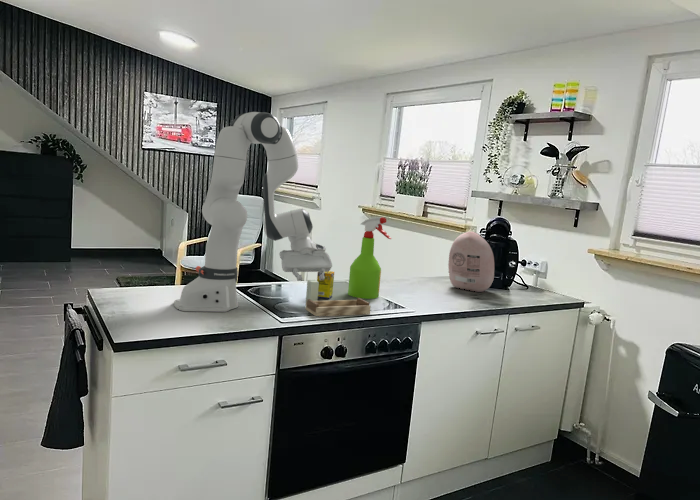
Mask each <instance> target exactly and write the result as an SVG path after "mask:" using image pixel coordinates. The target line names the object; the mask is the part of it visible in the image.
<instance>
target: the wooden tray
mask: <svg viewBox="0 0 700 500" xmlns="http://www.w3.org/2000/svg"><path fill="white" fill-rule="evenodd" d="M305 304H306V306H305V310H306V311H307V312H308V313H310V314H312V315H314V316H315V317H316V316H319V317H334V316H335V317H337V316H341V317H342V316H357V315H358V316H360V315H363V316H364V315H370V314H371V305H370V302H369V301H367V300H365V299H363V298H356V299H339V300H338V299H335V300H332V299H331V300H330V299H328V300H317V301H312V300H311V299H307V301H306V300H305Z"/></svg>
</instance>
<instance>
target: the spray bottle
mask: <svg viewBox="0 0 700 500" xmlns="http://www.w3.org/2000/svg"><path fill="white" fill-rule="evenodd" d="M386 223H387V218H386V217H383V216H382V217H370V218H367V219H365V220H363V221H362V222H361V223H360V225H362V226H364V233H363V237H362V240H361V247H360V254H359V255H358V256H356V258H355V259H354V260H353V262H352V264H351V265H350V267H349V278H348V290H347V295H348V296H350V297H352V298H356V299H357V298H361V299H363V300H365V299H366V300H372V299H373V300H375V299H378V298H379V297H380V295H379V294H380V287H381V286H380V285H381V275H382V268H381V266H380V264H379V262H378V260H377V259H376V257H375V255H374V254H375V253H374V250H375V236H374V235H375V234H374V231H375V230H377V231H378V232H379V233H381V235H383V236H384V237H385V238H386V239H387V240H392V239H393V238H392V237H390V235H389V234H387V232H386V230H385V231H384V229H383V225H382V224H386Z"/></svg>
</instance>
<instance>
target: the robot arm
mask: <svg viewBox="0 0 700 500" xmlns="http://www.w3.org/2000/svg"><path fill="white" fill-rule="evenodd" d="M231 123H232V124H231V125H230V126H228V125H227V126H225V127H223V128H222V129H220V131H219V134H218V137H217V140H216V143H215V148H214V156H213V162H212V171H211V179H210V182H209V187H208V190H207V193H206V196H205V201H204V202H203V205H202V207H201V208H202V209H201V213H202V216H203V218H204V220H205V221H206V222H207V223H208V224H209V225H210V226H211V229H210V233H209V237H208V240H207V242H206V244H205V258H204V266H200V265H197V266H196V267H195V271H196V272H197V273H198V277H196V278H194V280H192V281H190V282H189V283H187V284H186V285H184V286H183V288H182V289H181V294H180V298H177V299H175V300H174V301H173V307H174V308H175V309H176V310H178V309H179V311H182V312H219V313H221V312H223V313H224V312H225V313H226V312H229V311H231V310H233V309H236V308H238V307H239V302H238V294H237V293H238V292H237V282H238V272H239V271H238V267H237V263H238V249H239V244H240V239H241V235H242V232H243V227H244V226H245V224H246V223H247V221H248V211H247V209H246V208H245V207H244V205H243V204H242V203H241V202H239V201H238V200H237V199H238V196H239V193H240V191H241V187H242V186H243V185H244V183H245V182H244V180H245V174H246V166H247V165H246V164H247V158H248V157H247V156H248V150H249V147H250V146H251V145H252V144H255V145H257V144H258V145H259V144H261V145H262V146H263V148H264V149H265V151H266V152H265V153H266V157H267V162H268V164H267V165H268V166H267V171H266V173H265V174H263V178H262V197H263V213H264V215H263V216H264V219H263V230H264V234H265V236H266V237H267V238H268V239H270V240H272V241H279V240H283V239H285V238H288V241H289V242H290V250H285V249H283V250H281V251H280V252H279V258H280V259H281V268H282V269H281V270H282V271H284V272H285V273H292V276H294V277H295V278H296V281H298V282H299V281H300V282H301V281H302V280H303V276H302V274H300V272H301V273H318V272H320V274H321V273H322V274H321V275H320V276H319V279H320V280H324V279H325V277H324V273H325V272H329V271H331V269H332V267H333V263H332V260H331V257H330V255H329V253H328V252H326V250H327V247H326V246H324V245H322V244H320V243H319V244H318V243H315V242H314V241H313V240H312V239H311V238H310V237H311V232H312V231H313V227H314V226H313V223H312V220H311V216H310V213H309V211H307V210H306V209H304V208H297V209H293V210H290V211H284V212H280V213H279V212H278V213H276V211H275V198H274V197H275V192H276V190H277V189H278V188H279V187H281V186H282V185H284V184H285V183H287V182H288V181H290V180H291V179H292V178H293V177H294V176H295V175H296V173H297V172H298V169H299V159H298V153H297V151H296V146H295V143H294V140H293V138H292V137H293V136H292V135H291V132H290V131H289V130H288V129H287V128H286V127H284V126H282V125H281V123H280V121H279V120H278V118H277V117H276V116H275V115H273V114H272V113H269V112H266V111H263V112H260V111H259V112H258V111H251V112H244V113H241V114H238V115H237V116H236V117H235V118H234V120H233V122H231Z"/></svg>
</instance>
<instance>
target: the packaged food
mask: <svg viewBox="0 0 700 500" xmlns="http://www.w3.org/2000/svg"><path fill="white" fill-rule="evenodd" d="M495 264H496V262H495V255H494V251H493V249H492V247H491V245H490V243H489V242H488V240H487V239H485V238H484V237H483V236H482V235H481V234H479V232H478V233H477V232H476V231H466V232H464V233H461V234H459V235H458V236H457V237H456V238H455V239H454V241H453V242H452V244H451V247H450V249H449V255H448V264H447V265H448V266H447V267H448V277H449V281H450V283H451V285H452V286H453V287H454V288H457V289H459V288H460V289H461V290H464V289H465V290H466V291H469V290H470V292H474V291H475V292H476V293H481V292H482V293H483V292H485V291H487V290H488V289H489V288H491V286H492V283H494V282H493V281H494V278H495V271H496V267H495V266H496V265H495ZM465 290H464V291H465ZM475 292H474V293H475Z"/></svg>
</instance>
